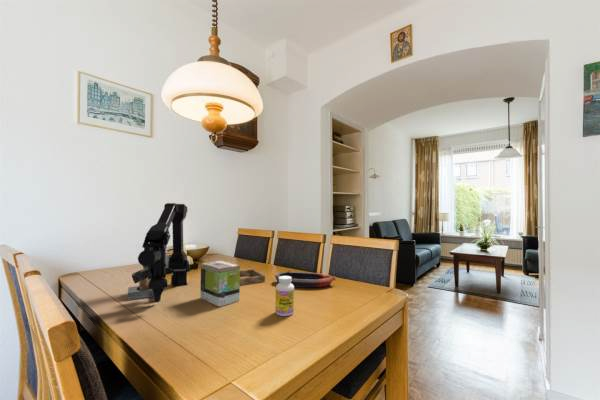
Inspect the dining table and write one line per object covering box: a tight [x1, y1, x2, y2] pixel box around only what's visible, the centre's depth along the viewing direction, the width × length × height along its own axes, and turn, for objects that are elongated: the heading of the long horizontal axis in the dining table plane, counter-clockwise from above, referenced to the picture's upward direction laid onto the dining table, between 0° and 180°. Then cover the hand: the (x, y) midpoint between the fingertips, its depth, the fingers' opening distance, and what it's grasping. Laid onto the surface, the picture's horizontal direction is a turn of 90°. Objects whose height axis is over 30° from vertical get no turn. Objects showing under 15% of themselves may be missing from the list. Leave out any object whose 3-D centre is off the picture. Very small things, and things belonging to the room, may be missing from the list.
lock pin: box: [152, 293, 162, 302], centre depth 114 cm, size 3×12×3 cm, turn 30°
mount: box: [127, 285, 153, 301], centre depth 117 cm, size 12×9×3 cm
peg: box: [138, 278, 151, 290], centre depth 117 cm, size 4×4×9 cm
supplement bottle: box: [275, 276, 295, 317], centre depth 97 cm, size 7×7×13 cm
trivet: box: [240, 268, 266, 286], centre depth 141 cm, size 17×17×3 cm
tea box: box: [199, 260, 241, 307], centre depth 111 cm, size 15×10×15 cm, turn 47°
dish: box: [274, 270, 337, 289], centre depth 134 cm, size 16×31×5 cm, turn 75°
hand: (156, 301), depth 105 cm, fingers closed
